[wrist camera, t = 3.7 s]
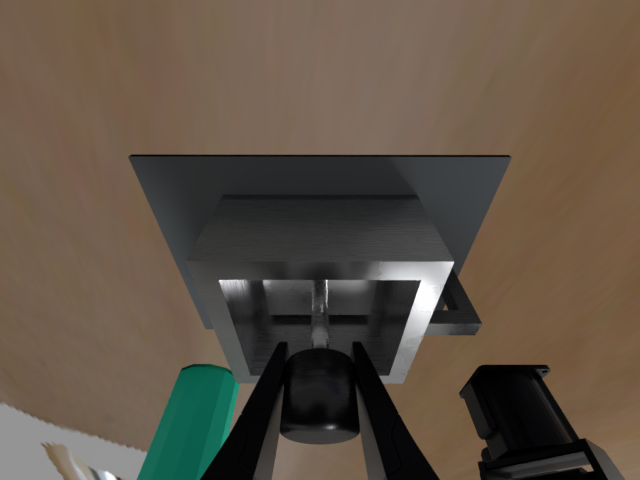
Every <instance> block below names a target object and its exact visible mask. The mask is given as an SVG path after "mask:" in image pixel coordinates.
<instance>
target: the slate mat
mask: <svg viewBox="0 0 640 480" xmlns="http://www.w3.org/2000/svg"><path fill="white" fill-rule="evenodd" d="M128 158H129V160H130V162H131V165H132V167H133V169H134V171H135V174H136V176H137V178H138V180H139V182H140V185H141V187H142V189H143V191H144V194H145V196H146V198H147V200H148V202H149V205H150V207H151V209H152V211H153V214H154V216H155V218H156V220H157V222H158V225H159V227H160V229H161V231H162V234H163V236H164V238H165V240H166V242H167V245H168V247H169V249H170V251H171V254H172V256H173V258H174V260H175V262H176V265H177V267H178V269H179V271H180V274H181V276H182V278H183V280H184V282H185V285H186V287H187V289H188V291H189V294H190V296H191V298H192V300H193V302H194V305H195V307H196V309H197V311H198V314H199V316H200V318H201V320H202V323H203V325H204V327H205V329H214V328H213V326H212V324H211V321H210V319H209V316H208V314H207V312H206V309H205V307H204V304H203V302H202V300H201V297H200V295H199V292H198V290H197V288H196V285H195V283H194V280H193V278H192V276H191V273H190V271H189V268H188V266H187V264H186V260H187V258H188V256H189V254H190V252H191V251H192V249H193V247H194V245H195V244H196V242H197V240H198V238H199V236H200V235H201V233H202V231H203V229H204V227H205V226H206V224H207V222H208V220H209V219H210V217H211V215H212V213H213V211H214V210H215V208H216V206H217V204H218V202H219V201H220V199H221V197H222V195H418V197H419V199H420V201H421V203H422V204H423V206H424V208H425V210H426V212H427V213H428V215H429V217H430V219H431V221H432V222H433V224H434V226H435V228H436V229H437V231H438V233H439V235H440V237H441V238H442V240H443V242H444V244H445V246H446V247H447V249H448V251H449V253H450V255H451V256H452V258H453V260H454V264H453V266H452V268H453V270H454V272H455V274H456V275H457V277H458V275H459V273H460V271H461V269H462V267H463V264H464V262H465V260H466V258H467V256H468V253H469V251H470V249H471V247H472V245H473V242H474V240H475V238H476V236H477V234H478V231H479V229H480V227H481V225H482V222H483V220H484V218H485V216H486V214H487V211H488V209H489V207H490V205H491V203H492V200H493V198H494V196H495V194H496V192H497V189H498V187H499V185H500V183H501V181H502V178H503V176H504V174H505V172H506V169H507V167H508V165H509V163H510V161H511V158H512V157H511V156H509V155H185V154H131V155H130V156H129V157H128ZM444 306H445V302H444V299H443V297H442V295H440V297H439V300H438V302H437V304H436V307H435V309H434V310H443V309H444Z"/></svg>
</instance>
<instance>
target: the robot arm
mask: <svg viewBox="0 0 640 480" xmlns="http://www.w3.org/2000/svg"><path fill="white" fill-rule="evenodd" d="M288 359H289V348H288V342H287V341H280V342H279V343H278V344H277V346H276V348H275V350H274V352H273V354H272V355H271V357H270V359H269V361H268V363H267V365H266V367H265V369H264V371H263V372H262V374H261V376H260V378H259V380H258V382H257V384H256V386H255V388H254V389H253V391H252V393H251V395H250V397H249V399H248V401H247V403H246V405H245V406H244V408H243V410H242V412H241V414H242V415H241V414H240V416H239V418H238V419H237V421H236V423H235V425H234V427H233V429H232V430H231V432H230V434H229V436H228V437H227V439H226V440H225V442H224V444H223V445H222V447H221V448H220V450H219V451H218V453H217V454H216V456H215V457H214V459H213V460H212V462H211V463H210V465H209V466H208V468H207V469H206V471H205V472H204V474H203V475H202V477H201V478H200V480H272V475H273V469H274V463H275V457H276V451H277V445H278V439H279V433H280V420H281V410H282V400H283V390H284V380H285V370H286V362H287V360H288ZM351 359H352V360H353V363H354V372H355V383H356V393H357V403H358V413H359V423H360V434H361V440H362V446H363V452H364V458H365V464H366V470H367V476H368V480H440V479H439V477H438V476H437V474H436V473H435V471H434V470H433V468H432V467H431V465H430V464H429V462H428V461H427V459H426V458H425V456H424V455H423V453H422V452H421V450H420V449H419V447H418V446H417V444H416V442H415V441H414V439H413V438H412V436H411V434H410V433H409V431H408V429H407V427H406V425H405V424H404V422H403V420H402V418H401V416H400V415H399V413H398V411H397V409H396V407H395V405H394V403H393V401H392V399H391V397H390V396H389V394H388V392H387V390H386V388H385V386H384V384H383V382H382V380H381V379H380V377H379V375H378V373H377V371H376V369H375V367H374V365H373V363H372V362H371V360H370V358H369V356H368V354H367V352H366V350H365V348H364V346H363V345H362V343H361V342H360V341H353V342H352V346H351ZM550 371H551V370H550V368H549V367H548V365H481V366H479V367H478V368H477V369H476V370H475V372H474V373H473V374H472V376H471V377H470V379H469V380H468V381H467V383H466V384H465V385H464V387H463V388H462V389H461V391H460V392H459V395H460V398H462V399H464V400H465V403H466V405H467V408H468V411H469V413H470V416H471V418H472V421H473V424H474V426H475V429H476V432H477V434H478V437H479V438H480V439H481V440H485V441H486V444H487V447H488V449H489V452H490V454H491V457H492V459H493V460H489V461H484V460H483V461H478V467H479V471H480V478H481V480H625V478H624V477H623V476H622V474H621V473H620V471H619V470H618V469H617V467H616V466H615V464H614V463H613V462H612V460H611V459H610V457H609V456H608V455H607V453H606V452H605V451H604V450H603V449H602V448H600V447H599V446H597V445H596V444H594V443H592V442H591V441H589V440H588V439H586V438H583V439H580V438H579V437H578V435H577V434H576V432H575V430H574V429H573V427H572V426H571V424H570V422H569V421H568V419H567V418H566V416H565V414H564V413H563V411H562V409H561V408H560V406H559V405H558V403H557V401H556V400H555V398H554V397H553V395H552V393H551V392H550V390H549V389H548V387H547V385H546V384H545V382H544V381H543V378H544V377H545V376H546V375H547V374H548V373H549V372H550ZM585 465H591V467H592V468H593V470H594V471H589V472H588V471H587V470H585V469H584V468H582V467H580V466H585ZM574 467H578V468H574ZM568 468H572V469H568ZM563 469H567V470H563ZM557 470H561V471H557ZM552 471H555V472H552ZM546 472H550V473H546ZM540 473H544V474H540ZM535 474H538V475H535ZM529 475H533V476H529ZM524 476H527V477H524ZM518 477H522V478H518ZM512 478H516V479H512Z"/></svg>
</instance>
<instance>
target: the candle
mask: <svg viewBox="0 0 640 480" xmlns="http://www.w3.org/2000/svg"><path fill="white" fill-rule="evenodd" d="M239 386H240V383H236V381H235V379H234V376H233V374H232V372H231V370H229V369H227V368H225V367H221V366H217V365H213V364H192V365H189V366H186V367H184V368H182V369H181V371H180V373H179V375H178V378H177V380H176V383H175V385H174V388H173V390H172V393H171V395H170V398H169V400H168V403H167V405H166V408H165V410H164V413H163V415H162V418H161V420H160V423H159V425H158V428H157V430H156V433H155V435H154V438H153V440H152V443H151V445H150V448H149V450H148V452H147V455H146V457H145V460H144V462H143V465H142V467H141V470H140V472H139V475H138V477H137V480H200V478H201V477H202V475H203V474H204V472H205V471H206V469H207V468H208V466H209V465H210V463H211V462H212V460H213V459H214V457H215V456H216V454H217V453H218V451H219V450H220V448H221V447H222V445H223V444H224V442H225V440H226V439H227V437H228V435H229V431H230V426H231V422H232V417H233V413H234V408H235V404H236V399H237V395H238V390H239Z"/></svg>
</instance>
